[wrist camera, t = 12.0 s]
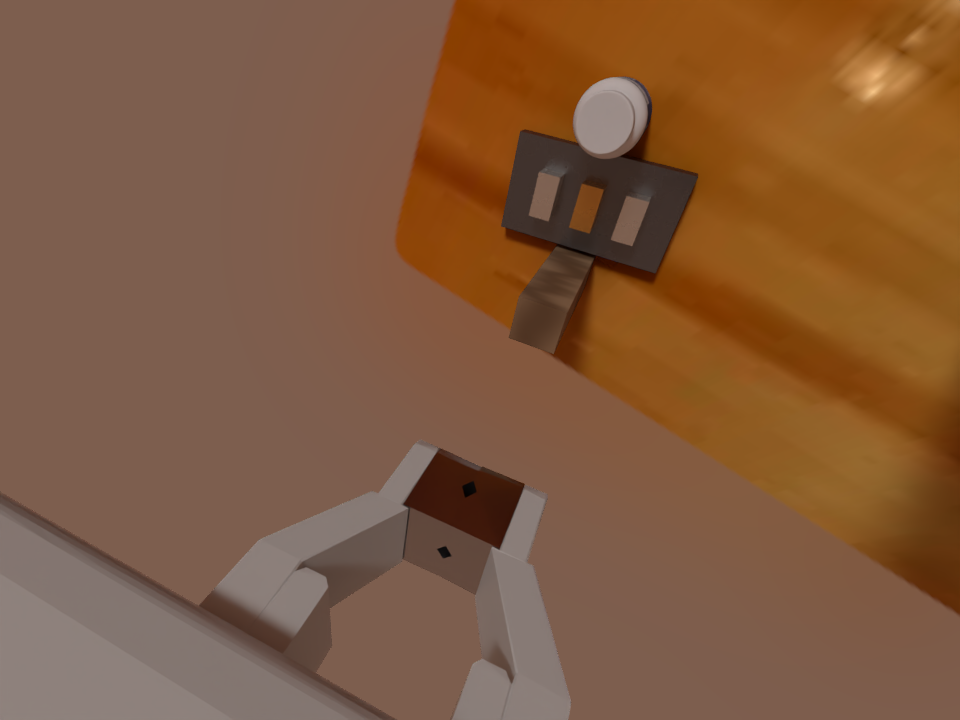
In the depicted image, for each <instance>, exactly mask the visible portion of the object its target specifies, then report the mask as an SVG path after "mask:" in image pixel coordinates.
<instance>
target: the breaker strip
mask: <svg viewBox="0 0 960 720" xmlns="http://www.w3.org/2000/svg"><path fill="white" fill-rule="evenodd" d="M697 178H698V174H697V173H693V172H689V171H685V170H682V169H678V168H674V167H670V166H666V165H662V164H658V163H654V162H650V161H646V160H642V159H639V158H635V157H631V156H627V155H621V156H619V157H616V158H611V159H600V158H596V157H593V156H591V155H589V154H588V153H586V152H585V151H584V150H583V149H582V148H581V147H580V145H579V143H576V142H572V141H568V140H564V139H560V138H556V137H553V136H549V135H545V134H541V133H537V132H533V131H529V130H522V131H520V136H519V141H518V146H517V151H516V155H515V160H514V165H513V170H512V175H511V180H510V185H509V190H508V195H507V200H506V205H505V210H504V215H503V220H502V225H501V226H502V227H505V228H508V229H512V230H515V231H518V232H522V233H525V234H528V235H531V236H535V237H538V238H541V239H544V240H548V241H551V242H554V243H557V244H561V245H564V246H567V247H571V248H574V249H577V250H580V251H584V252H587V253H590V254H593V255H597V256H600V257H603V258H606V259H610V260H613V261H616V262H620V263H623V264H626V265H629V266H633V267H636V268H639V269H642V270H646V271H649V272H652V273H656V271H657V269H658V266H659V264H660V262H661V260H662V257H663V255H664V253H665V251H666V248H667V246H668V244H669V242H670V239H671V237H672V235H673V232H674V230H675V228H676V226H677V223H678V221H679V219H680V217H681V214H682V212H683V210H684V208H685V205H686V203H687V201H688V198H689V196H690V194H691V192H692V189H693V187H694V185H695V183H696V180H697Z"/></svg>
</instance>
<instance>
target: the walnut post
mask: <svg viewBox="0 0 960 720" xmlns="http://www.w3.org/2000/svg"><path fill="white" fill-rule="evenodd" d="M594 258H595V255H593V254H590V253H587V252H584V251H580V250H577V249H574V248H571V247H567V246H564V245H561V244H558V245H557V246H556V247H555V249H554V250H553V251H552V253H551V254H550V255H549V257H548V258H547V260H546V261H545V262H544V264H543V265H542V266H541V268H540V269H539V270H538V272H537V273H536V274H535V276H534V277H533V279H532V280H531V281H530V283H529V284H528V285H527V287H526V288H525V289H524V291H523V292H522V293H521V295H520V296H519V299H518V303H517V307H516V311H515V315H514V319H513V323H512V327H511V331H510V335H509V338H510V339H513V340H516V341H519V342H522V343H525V344H527V345H530V346H533V347H535V348H538V349H541V350H544V351H547V352H549V353H552V354H554V352H555V350H556V348H557V346H558V344H559V341H560V339H561V337H562V335H563V333H564V331H565V329H566V326H567V324H568V322H569V320H570V318H571V316H572V314H573V311H574V309H575V307H576V305H577V303H578V301H579V299H580V296H581V294H582V292H583V290H584V287H585V285H586V282H587V279H588V276H589V273H590V270H591V267H592V264H593V261H594Z"/></svg>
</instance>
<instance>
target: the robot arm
mask: <svg viewBox="0 0 960 720" xmlns="http://www.w3.org/2000/svg"><path fill="white" fill-rule="evenodd" d="M524 485H525V484H524V483H521V482H518V481H516V480H514V479H511V478H509V477H507V476H504V475H502V474H499V473H496V472H494V471H492V470H489V469H487V468H485V467H480V466H478V465H476V464H474V463H471V462H469V461H467V460H465V459H462V458H461V457H458V456H456V455H454V454H452V453H450V452H447V451H445V450H443V449H441V448H438V447H436V446H434V445H432V444H429V443H427V442H425V441H423V440H419V441H418V442H416V443H415V444H414V445H413V447H412V448H411V449H410V451H409V452H408V454H407V455H406V456H405V458H404V459H403V460H402V462H401V463H400V465H399V466H398V467H397V469H396V470H395V471H394V473H393V474H392V476H391V477H390V478H389V480H388V481H387V483H386V484H385V485H384V486H383V488H382V489H381V491H380V492H379V493H376V492H373V491H371V492H369V493H366V494H364V495H362V496H359V497H357V498H355V499H353V500H350V501H348V502H345V503H343V504H341V505H338V506H336V507H334V508H331V509H329V510H327V511H325V512H322V513H320V514H318V515H315V516H313V517H311V518H308V519H306V520H304V521H301V522H299V523H297V524H294V525H292V526H290V527H287V528H285V529H283V530H280V531H279V532H276V533H274V534H271V535H269V536H267V537H264V538H262V539H260V540H258V542H257V543H256V544H255V545H254V546H253V547H252V548H251V549H250V551H248V553H247V554H246V555H245V556H244V557H243V558H242V559H241V560H240V561H239V562H238V563H237V565H236V566H235V567H234V568H233V569H232V570H231V571H230V572H229V573H228V574H227V576H226V577H225V578H224V579H223V580H222V581H221V582H220V583H219V584H218V585H217V586H216V587H215V588H214V590H213V591H212V592H211V593H210V594H209V595H208V596H207V597H206V598H205V599H204V601H203V602H202V603H201V604H200V605H199V606H198V605H196V604H195V603H193V602H191V601H189V600H188V599H186V598H184V597H182V596H181V595H179V594H177V593H175V592H174V591H172V590H170V589H168V588H167V587H165V586H163V585H162V584H160V583H158V582H156V581H155V580H153V579H151V578H149V577H148V576H146V575H144V574H142V573H141V572H139V571H137V570H135V569H134V568H132V567H130V566H128V565H127V564H125V563H123V562H122V561H120V560H118V559H116V558H114V557H113V556H111V555H109V554H108V553H106V552H104V551H102V550H100V549H99V548H97V547H95V546H93V545H92V544H90V543H88V542H87V541H85V540H83V539H81V538H80V537H78V536H76V535H75V534H73V533H71V532H69V531H68V530H66V529H64V528H62V527H60V526H59V525H57V524H55V523H54V522H52V521H50V520H48V519H47V518H45V517H43V516H41V515H40V514H38V513H36V512H34V511H33V510H31V509H29V508H28V507H26V506H24V505H22V504H21V503H19V502H17V501H15V500H13V499H12V498H10V497H8V496H7V495H5V494H3V493H1V492H0V720H397V719H395V718H393V717H391V716H389V715H388V714H386V713H384V712H383V711H381V710H379V709H377V708H376V707H374V706H372V705H370V704H369V703H367V702H365V701H364V700H362V699H360V698H358V697H357V696H355V695H353V694H351V693H350V692H348V691H346V690H344V689H343V688H341V687H339V686H337V685H336V684H334V683H332V682H330V681H329V680H327V679H325V678H323V677H322V676H320V675H318V674H317V673H316V672H317V670H318V668H319V666H320V665H321V663H322V662H323V660H324V658H325V656H326V655H327V653H328V651H329V650H330V648H331V646H332V639H331V622H330V608H331V607H333V606H334V605H336V604H337V603H339V602H340V601H342V600H343V599H345V598H347V597H348V596H350V595H351V594H353V593H354V592H355V591H357V590H359V589H360V588H362V587H363V586H365V585H367V584H368V583H369V582H371V581H373V580H374V579H376V578H377V577H379V576H380V575H382V574H384V573H385V572H387V571H388V570H390V569H391V568H393V567H394V566H396V565H398V564H399V563H401V562H402V559H404V560H406V561H408V562H410V563H413V564H415V565H417V566H419V567H421V568H423V569H426V570H428V571H430V572H432V573H435V574H436V575H439V576H441V577H442V578H444V579H446V580H448V581H450V582H452V583H454V584H456V585H458V586H460V587H462V588H463V589H465V590H467V591H469V592H471V593H473V594H475V595H476V596H475V601H476V610H477V619H478V627H479V635H480V645H481V654H482V659H481V660H479V661H477V662H475V663H473V665H472V667H471V670H470V672H469V674H468V677H467V679H466V682H465V684H464V687H463V689H462V691H461V694H460V696H459V699H458V701H457V704H456V706H455V708H454V711H453V713H452V716H451V719H450V720H568V717H569V712H570V706H571V701H570V697H569V693H568V689H567V686H566V682H565V679H564V675H563V671H562V667H561V664H560V660H559V656H558V653H557V649H556V645H555V642H554V638H553V635H552V631H551V627H550V623H549V620H548V616H547V612H546V609H545V605H544V602H543V598H542V594H541V591H540V587H539V583H538V579H537V576H536V572H535V568H534V566H533V565H531V564H529V563H527V561H528V558H529V555H530V552H531V549H532V545H533V542H534V539H535V536H536V533H537V530H538V527H539V524H540V521H541V517H542V514H543V511H544V508H545V505H546V502H547V499H548V494H546V493H544V492H541V491H539V490H537V489H534V488H532V487H530V486H527V485H525V486H524ZM523 488H524V489H523ZM522 491H523V492H522ZM519 499H520V500H519Z"/></svg>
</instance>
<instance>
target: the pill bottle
mask: <svg viewBox="0 0 960 720" xmlns="http://www.w3.org/2000/svg"><path fill="white" fill-rule="evenodd" d="M651 114H652V102H651V98H650V95H649V93H648V91H647V89H646V88H645V87H644V85H643V84H642V83H640V82H639V81H637V80H635V79H633V78H630V77H612V78H607V79H604V80H601V81H599V82H597V83H596V84H594V85H593V86H591V87H590V88H589V89H588V90H587V91H586V92H585V93H584V94H583V96H582V97H581V99H580V101H579V103H578V104H577V107H576V110H575V113H574V119H573V129H574V134H575V137H576V140H577V142H578V143H579V145H580V147H581V148H582V149H583V150H584V151H585V152H586V153H588V154H589V155H591V156H593V157H596V158H600V159H611V158H616V157H619V156H621V155H623V154H625V153H626V152H628V151H629V150H630V149H632V148H633V147H634V146H635V145H636V143H637V142H638V141H639V139H640V138H641V136H642V135H643V133H644V132H645V130H646V128H647V126H648V124H649V122H650V119H651Z"/></svg>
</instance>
